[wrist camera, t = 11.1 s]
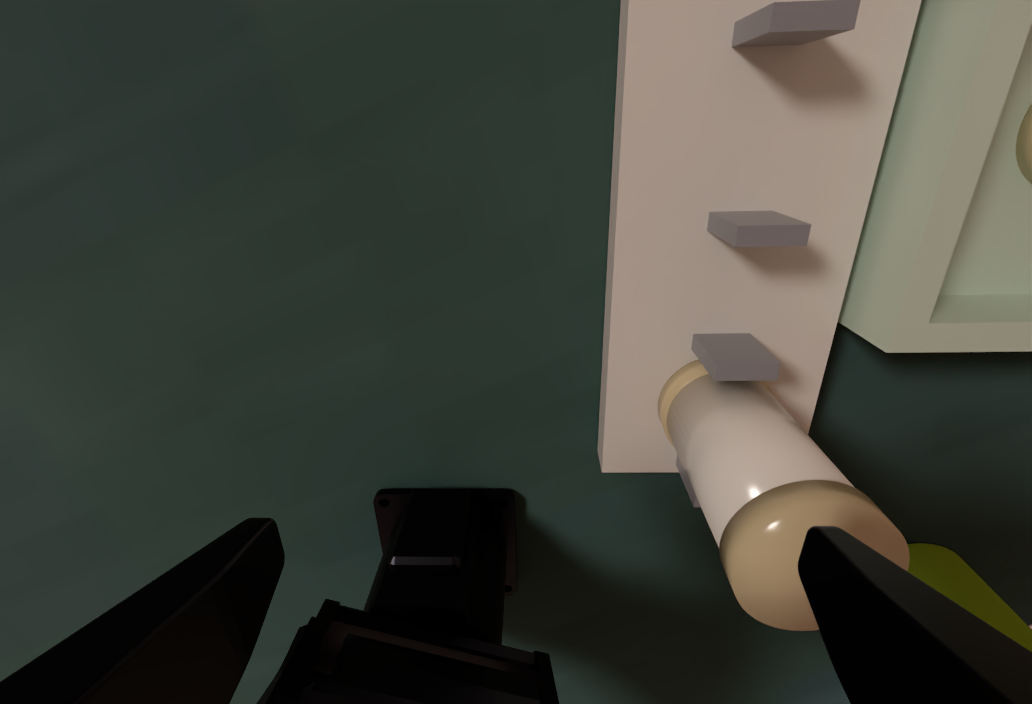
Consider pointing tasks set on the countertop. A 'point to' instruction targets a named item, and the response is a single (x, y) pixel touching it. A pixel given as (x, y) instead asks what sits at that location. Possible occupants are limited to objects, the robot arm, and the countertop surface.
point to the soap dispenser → (966, 589)
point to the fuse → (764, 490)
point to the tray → (951, 191)
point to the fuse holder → (737, 198)
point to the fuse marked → (1025, 146)
